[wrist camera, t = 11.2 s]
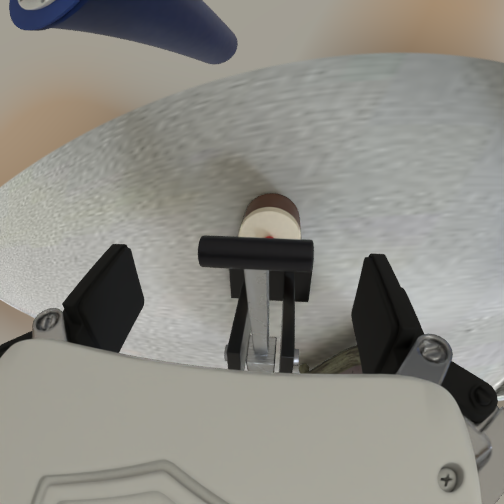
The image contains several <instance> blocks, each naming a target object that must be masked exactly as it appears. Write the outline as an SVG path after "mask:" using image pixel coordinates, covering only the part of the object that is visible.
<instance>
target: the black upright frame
mask: <svg viewBox="0 0 504 504" xmlns="http://www.w3.org/2000/svg"><path fill="white" fill-rule="evenodd" d="M313 259H314V258H313ZM312 268H313V267H312ZM229 271H230V286H231V298H239V300H238V304H237V308H236V313H235V317H234V321H233V326H232V330H231V334H230V339H229V343H228V345H226V347H225V353H224V358H225V361H227V362H228V369H232V370H244V369H245V363H246V357H247V350H248V341H249V336H250V333H251V325H250V317H249V309H248V301H247V292H246V284H245V275H244V269H231V268H229ZM311 276H312V271H311V272H290V271H269V300H275V301H283V305H282V325H281V344H280V361H279V373H292V370H293V366H298V363H299V349H295V301H296V302H308V300H309V292H310V285H311Z"/></svg>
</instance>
